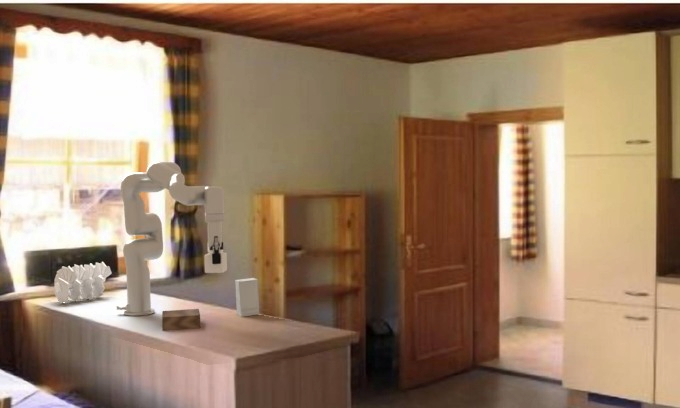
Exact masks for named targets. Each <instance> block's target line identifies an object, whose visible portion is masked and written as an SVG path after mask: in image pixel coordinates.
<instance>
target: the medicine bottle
mask: <svg viewBox="0 0 680 408" xmlns="http://www.w3.org/2000/svg"><path fill="white" fill-rule="evenodd" d="M214 246H215V245H214ZM220 253H221V264H212V254H213V249H212V246H211V247H210V248H209V247H208V246H207V253H206V254H204V256H203V257H204V273H205V274H223V273H225V272H227V271H228V253H227V252H224V242H223V241H222V243H221V247H220Z"/></svg>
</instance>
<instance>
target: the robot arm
mask: <svg viewBox="0 0 680 408" xmlns="http://www.w3.org/2000/svg"><path fill="white" fill-rule="evenodd" d="M185 179H186V178H185V176H184V174H183V173H182V169H181V167H180V166H179V164H177V163H175V162H171V161H169V162H168V161H156V162H151V164H149V165H148V167H147V169H146V172H132V173H129V174H126V175H125V176H124V177H123V178H122V180H121V181H120V192H121V198H122V202H123V213H124V214H123V215H124V227H125V232H126V233H127V235H129V236H131V237H140V236H145V238H134V239H131V240H129V241H126V242H125V244H124V245H123V247H122V248H123V249H122V253H123V258H124V263H125V270H126V273H125V274H126V292H127V293H126V295H127V296H126V297H127V299H126V301H127V302H126V303H124V304H119V305H118V304H117V305H116V310H117V311H118V310H119V311H123V310H124V311H123V315H125V316H129V317H130V316H133V317H136V316H137V317H139V316H146V315H151V314H154V313H155V312H156V310H155V309H154V308H152V307H151V306H152V305H151V304H152V302H151V278H150V277H151V276H150V274H151V273H150V272H151V271H150V268H149V267H148V265H147V262H146V261H152V260H158V259H160V258H161V257H162V255H163V251H164V241H163V240H164V239H163V238H164V237H163V227H162V221H161V219H160V217H159V216H158V214H157V213H154V212H146V209H145V202H144V200H143V197H142V196H141V195H140V193H143V194H145V193H159V192H161V191H163V190H165V189H166V190H168V193H169V195H170V197H171V198H172V199H173V200H175V202H177V203H180V204H182V205H184V206H188V207H189V206H190V207H191V206H204V223H207V248H208V247H209V248H210V247H211V246H212V249H213V254H212V264H221V253H220V247H221V243H222V242H223V239H222V238H223V236H222V233H223V231H222V230H223V228H222V223H225V221H226V220H225V190H224V188H223V187H222V186H219V185H218V186H213V185H212V186H208V185H196V186H195V185H192V186H190V185H189V186H188V185H186V184H185V181H186V180H185ZM214 245H215V246H214Z"/></svg>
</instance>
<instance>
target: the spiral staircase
mask: <svg viewBox="0 0 680 408" xmlns="http://www.w3.org/2000/svg"><path fill="white" fill-rule="evenodd" d="M73 265H74V266H72V267H71V266H70V265H68V266H61V268H60V269H58V270H57V271H56V274H55V277H54V279H53V280H54V285H53V292H54V296H55V297H56V298H57V300H58V302H59V301H60V303H62V302H65V303H66V302H69V300H71V301H73V300H74V301H73V302H75V301H76V302H77V301H79V300H80V299H81V298H82V300H87V299H89V300H90V298H92V297H96V298H97V299H100V297H102V296H104V293H103V292H104V290H105V286H104V283H106V279H107V277H109V276H110V275H112V274H113V273H112V270H111V267H110V266H109V265H106V264H105V262H104V261H101V262H100V263H99V262H95V264H93V263H89V264H84V265H83V264H80V265H78V264H73ZM80 297H81V298H80Z"/></svg>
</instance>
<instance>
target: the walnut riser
mask: <svg viewBox="0 0 680 408" xmlns="http://www.w3.org/2000/svg"><path fill="white" fill-rule="evenodd" d="M161 313H162V315H161V318H162V319H161V320H162V321H161V324H162V325H161V326H162V327H161V330H162V331H164V332H165V331H174V330H175V331H177V330H190V329H201V313H200V308H190V309H175V310H174V309H173V310H162V312H161Z"/></svg>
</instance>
